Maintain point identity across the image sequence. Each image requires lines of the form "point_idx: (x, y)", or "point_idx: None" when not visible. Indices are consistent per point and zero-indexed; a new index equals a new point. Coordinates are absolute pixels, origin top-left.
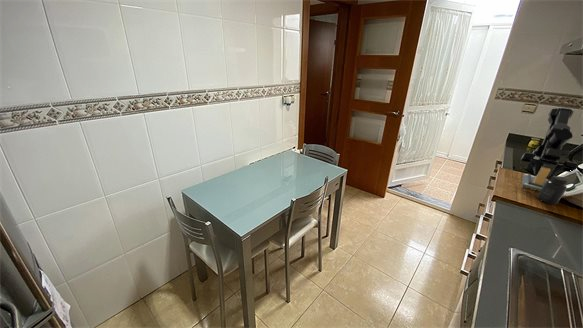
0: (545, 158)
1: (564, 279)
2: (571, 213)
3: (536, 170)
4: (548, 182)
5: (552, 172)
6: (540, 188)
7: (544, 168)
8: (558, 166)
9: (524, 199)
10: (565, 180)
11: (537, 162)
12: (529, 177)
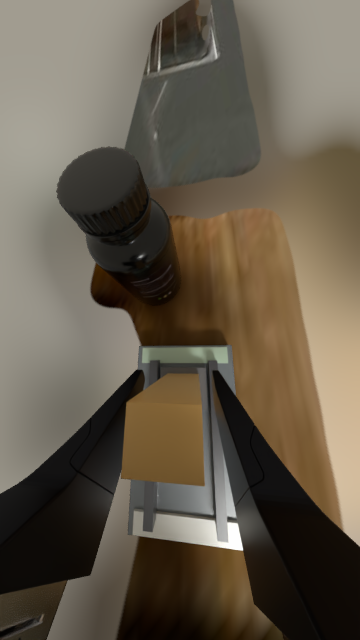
0: None
1: (158, 58)
2: None
3: (227, 397)
4: (160, 210)
5: (114, 411)
6: (171, 346)
7: (179, 416)
8: (3, 522)
9: (212, 239)
10: (75, 163)
11: (308, 538)
12: (219, 450)
